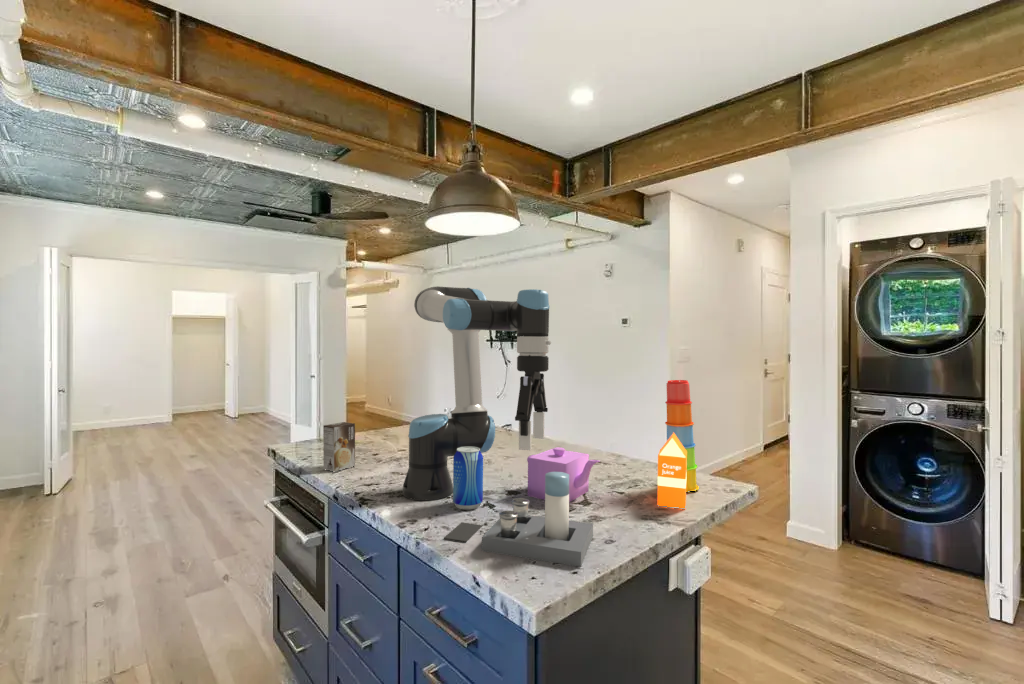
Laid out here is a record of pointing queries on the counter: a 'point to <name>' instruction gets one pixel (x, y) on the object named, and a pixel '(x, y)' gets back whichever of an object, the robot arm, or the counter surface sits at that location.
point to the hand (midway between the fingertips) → (532, 443)
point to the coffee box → (339, 446)
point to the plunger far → (521, 508)
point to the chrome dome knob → (508, 523)
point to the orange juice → (672, 474)
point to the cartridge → (557, 506)
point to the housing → (540, 542)
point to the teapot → (559, 462)
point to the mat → (463, 532)
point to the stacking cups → (682, 425)
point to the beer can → (468, 478)
